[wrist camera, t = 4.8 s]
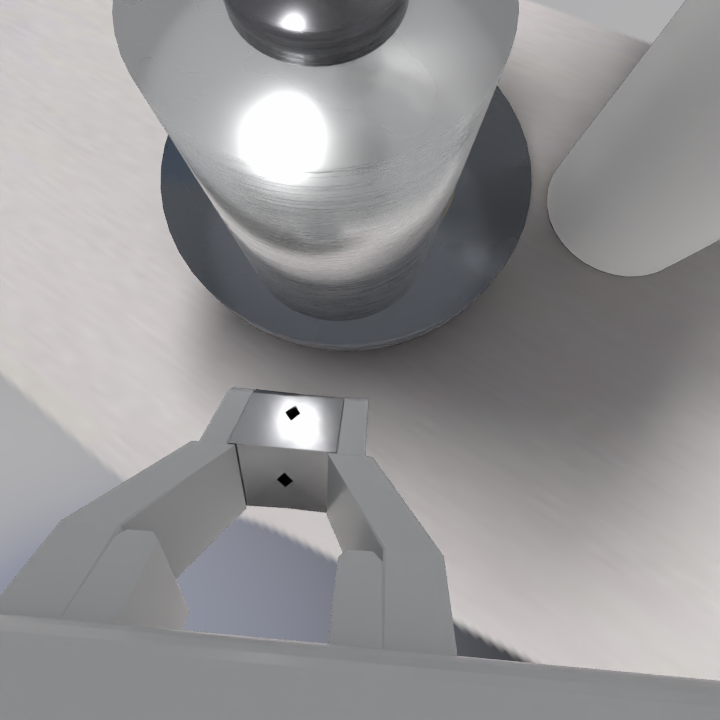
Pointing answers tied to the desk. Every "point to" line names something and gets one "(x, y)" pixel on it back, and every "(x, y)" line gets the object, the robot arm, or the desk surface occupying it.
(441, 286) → the turntable platter
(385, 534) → the robot arm
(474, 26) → the silver metal canister
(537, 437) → the desk surface
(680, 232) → the cylindrical container
